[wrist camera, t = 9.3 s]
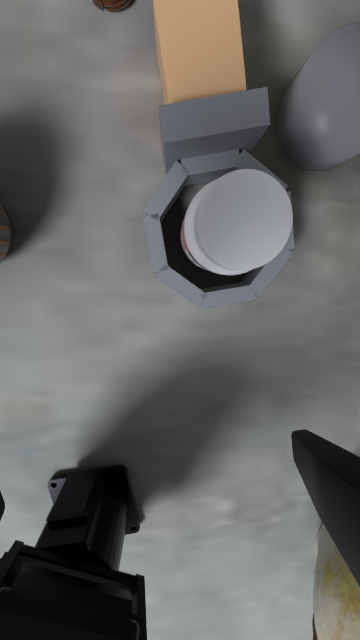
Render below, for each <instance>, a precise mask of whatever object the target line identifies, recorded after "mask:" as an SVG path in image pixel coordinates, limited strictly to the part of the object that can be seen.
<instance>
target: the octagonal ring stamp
mask: <svg viewBox="0 0 360 640" xmlns="http://www.w3.org/2000/svg"><path fill="white" fill-rule="evenodd" d="M153 11H154V25H155V38H156V52H157V59H158V66H159V72H160V79H161V85H162V91H163V98H164V104H165V105H160V106H158V107H159V119H160V130H161V141H162V151H163V157H164V163H165V169H166V177H165V178H164V180H163V181H162V183H161V184H160V186H159V188H158V189H157V191H156V192H155V194H154V195H153V197H152V198H151V200H150V201H149V203H148V204H147V206H146V207H145V209H144V213H145V215H146V216H142V217H143V223H144V228H145V234H146V239H147V244H148V250H149V255H150V260H151V266H152V271H153V273H154V272H158V274H157V275H156V278H158V279H159V280H160V281H162V282H163V283H165V284H166V285H167V286H169V287H170V288H172V289H173V290H175V291H176V292H177V293H179V294H180V295H182V296H183V297H184V298H186V299H187V300H189V301H190V302H191V303H193V304H194V305H196V306H197V307H200V306H202V307H203V309H205V308H211V307H217V306H222V305H228V304H234V303H240V302H246V301H252V300H255V296H257V297H260V296H261V295H262V294H263V292H264V291H265V290H266V288H267V287H268V286H269V284H270V283H271V282H272V281H273V279H274V278H275V277H276V275H277V274H278V273H279V271H280V270H281V269H282V268H283V266H284V265H285V264H286V262H287V261H288V260H289V259H290V257H291V256H292V255H293V253H292V252H291V251H290V250H289V249H295V243H294V230H293V222H292V228H291V233H290V236H289V238H288V240H287V242H286V244H285V246H284V248H283V249H282V250H281V251H280V253H279V254H278V255H277V256H276V257H275V258H274V259H272V260H271V261H270V262H268V263H267V264H265V265H263V266H261V267H258V268H255V269H252V270H251V271H248V273H247V274H246V275H245V277H244V278H243V279H242V281H241V282H238V283H232V284H226V285H220V286H215V287H209V288H203V289H201V288H199V287H198V286H196V285H195V284H194V283H192V282H191V281H189V280H188V279H187V278H185V277H184V276H183V275H181V274H180V273H178V272H177V271H176V270H174V269H173V268H171V267H170V266H169V265H168V260H167V255H166V249H165V243H164V237H163V232H162V226H161V222H162V221H163V219H164V218H165V216H166V215H167V213H168V212H169V210H170V209H171V207H172V206H173V204H174V203H175V201H176V200H177V198H178V197H179V195H180V194H181V192H182V191H183V189H184V188H185V186H189V185H195V184H201V183H207V182H212V181H214V180H216V179H218V178H220V177H222V176H223V175H225V174H227V173H229V172H232V171H235V170H240V169H254V170H259V171H262V172H265V173H267V174H269V175H270V176H272V177H273V178H275V179H276V180H277V181H278V182H279V183H280V184H281V185H282V186H283V188H284V189H285V190H286V188H287V187H288V185H287V184H285V183H284V182H283V181H282V180H281V179H279V178H278V177H277V176H276V175H275V174H273V173H272V172H271V171H270V170H269V169H267V168H266V167H265V166H264V165H263V164H262V163H260V162H259V161H258V160H257V159H256V158H254V157H253V156H252V155H251V154H250V152H251V150H252V149H253V148H254V146H255V145H256V144H257V142H258V141H259V140H260V138H261V137H262V135H263V134H264V133H265V131H266V130H267V129H268V127H269V126H270V113H269V101H268V89H267V87H263V88H257V89H251V90H247V89H246V79H245V69H244V58H243V48H242V38H241V28H240V18H239V8H238V0H153ZM286 192H287V194H288V196H289V199H290V202H291V191H286ZM291 206H292V203H291Z"/></svg>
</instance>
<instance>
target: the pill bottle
mask: <svg viewBox="0 0 360 640" xmlns="http://www.w3.org/2000/svg"><path fill="white" fill-rule="evenodd" d="M292 222H293V212H292V206H291V202H290V199H289V196H288V194H287V192H286V191H285V189H284V188H283V186H282V185H281V184H280V183H279V182H278V181H277V180H276V179H275V178H273V177H272V176H270V175H269V174H267V173H265V172H262V171H259V170H254V169H240V170H235V171H232V172H229V173H227V174H225V175H223V176H222V177H220V178H218V179H216V180H214V181H212V182H210V183H208V184H207V185H206V186H204V187H203V188H202V189H201V190H200V191H199V192H198V193H197V194H196V195H195V197H194V198H193V199H192V201H191V202H190V205H189V207H188V209H187V211H186V214H185V218H184V220H183V223H182V226H181V233H180V240H181V245H182V248H183V250H184V253H185V254H186V256H187V258H188V259H189V260H190V261H191V262H192V263H193V264H195V265H196V266H198V267H200V268H202V269H205V270H208V271H211V272H214V273H217V274H221V275H238V274H242V273H246V272H248V271H251V270H252V269H255V268H258V267H261V266H263V265H265V264H267V263H268V262H270V261H271V260H272V259H274V258H275V257H276V256H277V255H278V254H279V253H280V251H281V250H282V249H283V248H284V246H285V244H286V242H287V240H288V238H289V236H290V233H291V228H292Z"/></svg>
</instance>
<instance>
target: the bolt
mask: <svg viewBox="0 0 360 640" xmlns="http://www.w3.org/2000/svg"><path fill="white" fill-rule="evenodd" d="M130 1H131V0H93V4H94V5H95V6H97V7H98V8H99V9H101V10H103V11H104V7H108V10H109V12H117V11H120V10H122V9H124V8H126V7H127V6H128V4H129V3H130Z"/></svg>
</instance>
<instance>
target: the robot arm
mask: <svg viewBox="0 0 360 640" xmlns="http://www.w3.org/2000/svg"><path fill="white" fill-rule="evenodd" d="M291 438H292V449H293V457H294V461H295V464H296V466H297V468H298V470H299V473H300V475H301V477H302V479H303V482H304V484H305V486H306V488H307V490H308V493H309V495H310V497H311V499H312V502H313V504H314V506H315V508H316V510H317V512H318V515H319V517H320V518H321V520H322V522H323V524H324V526H325V528H326V529H327V531H328V533H329V535H330V536H331V538H332V540H333V542H334V543H335V545H336V547H337V549H338V550H339V552H340V554H341V556H342V557H343V559H344V561H345V563H346V564H347V566H348V568H349V570H350V571H351V573H352V575H353V577H354V578H355V580H356V582H357V584H358V585H359V587H360V457H359V456H357V455H355V454H353V453H351V452H349V451H347V450H345V449H343V448H341V447H339V446H337V445H335V444H333V443H331V442H330V441H328V440H326V439H324V438H322V437H320V436H318V435H316V434H314V433H312V432H310V431H308V430H306V429H303V430H297V431H293V432H292V434H291ZM119 472H123V473H119ZM54 483H56V484H54ZM48 488H49V491H50V495H51V498H52V501H53V506H52V508H51V510H50V512H49V514H48V516H47V519H46V521H47V522H46V524H45V527H44V529H43V531H42V533H41V535H40V537H39V539H38V541H37V543H36V546H35V547H32V546H28V545H25V544H24V542H21V541H18V540H16V541H15V542H14V544H13V545H12V547H11V549H10V550H9V552H5V553H4V555H3V557H2V558H0V640H147V629H146V605H145V581H144V576H142V575H138V574H136V576H135V575H131V574H128V573H124V572H121V571H119V565H120V559H121V554H122V548H123V542H124V536H125V535H126V534H132V533H136V532H138V531H139V529H140V521H139V517H138V513H137V509H136V505H135V500H134V496H133V492H132V488H131V484H130V480H129V476H128V472H127V469H126V467H125V466H122V465H120V466H114V467H107V468H101V469H95V470H89V471H83V472H77V473H71V474H65V475H59V476H54V477H52V478H51V479H50V480H49V482H48ZM4 509H5V503H4V500H3V497H2V494H1V491H0V520H1V518H2V515H3V513H4Z"/></svg>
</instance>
